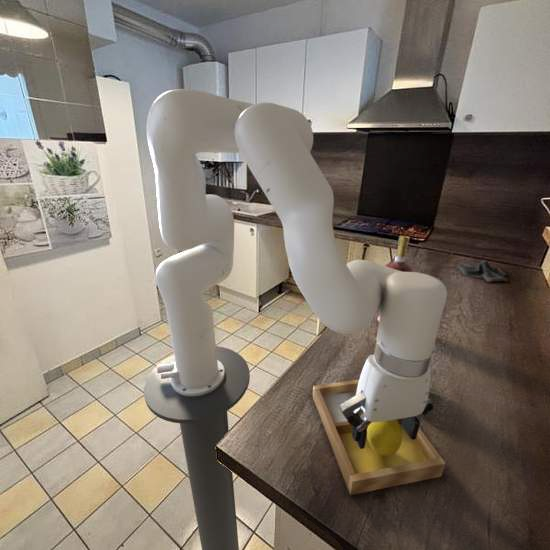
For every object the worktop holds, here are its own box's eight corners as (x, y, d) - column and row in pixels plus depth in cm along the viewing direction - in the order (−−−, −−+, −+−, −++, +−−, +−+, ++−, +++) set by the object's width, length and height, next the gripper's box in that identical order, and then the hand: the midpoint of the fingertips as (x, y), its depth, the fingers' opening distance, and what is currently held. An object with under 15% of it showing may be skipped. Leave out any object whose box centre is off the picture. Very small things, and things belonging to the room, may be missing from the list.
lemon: (394, 472, 48) (403, 438, 44) (360, 456, 50) (366, 422, 47) (399, 445, 52) (407, 412, 49) (368, 431, 55) (374, 399, 51)
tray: (350, 495, 45) (352, 481, 44) (312, 397, 63) (313, 385, 62) (441, 476, 48) (445, 463, 47) (379, 387, 66) (382, 376, 65)
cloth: (503, 286, 116) (508, 272, 113) (452, 273, 128) (455, 260, 126) (514, 271, 130) (518, 258, 128) (467, 261, 142) (470, 249, 140)
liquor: (397, 318, 93) (414, 233, 82) (404, 331, 87) (422, 241, 76) (374, 317, 94) (387, 233, 83) (378, 329, 87) (393, 240, 77)
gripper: (436, 334, 48) (415, 411, 55) (336, 345, 45) (327, 425, 52) (472, 364, 41) (444, 448, 48) (357, 380, 38) (344, 467, 45)
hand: (383, 436), depth 50 cm, fingers open, 8 cm apart
